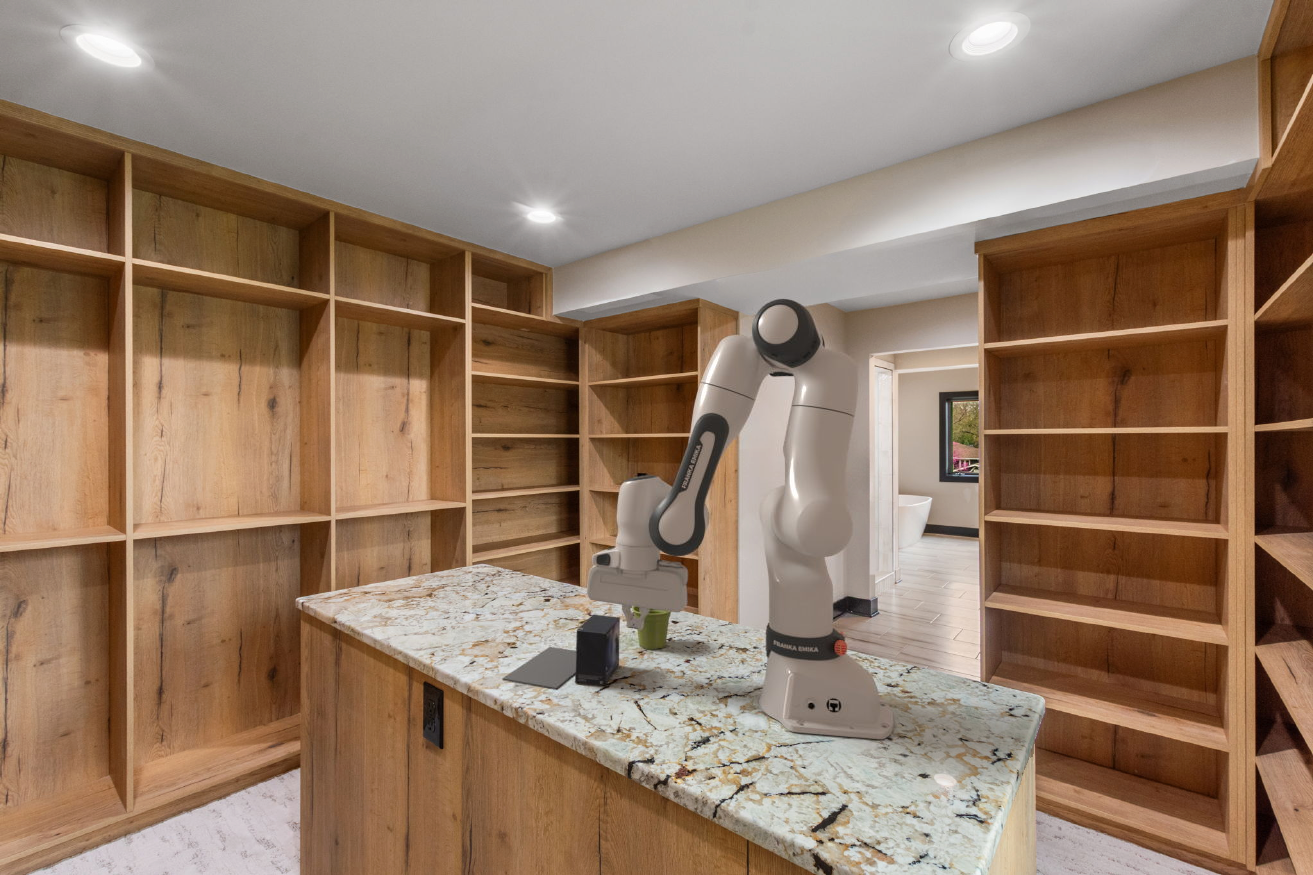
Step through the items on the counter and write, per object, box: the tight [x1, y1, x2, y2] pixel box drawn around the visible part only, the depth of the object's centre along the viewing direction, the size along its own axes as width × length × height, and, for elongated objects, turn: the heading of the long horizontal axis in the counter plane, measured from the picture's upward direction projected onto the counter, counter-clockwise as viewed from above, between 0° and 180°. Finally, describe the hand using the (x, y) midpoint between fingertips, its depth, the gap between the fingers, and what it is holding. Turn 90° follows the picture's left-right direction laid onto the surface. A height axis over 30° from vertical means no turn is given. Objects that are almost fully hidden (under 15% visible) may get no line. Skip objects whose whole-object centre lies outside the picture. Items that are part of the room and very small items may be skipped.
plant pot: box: [631, 606, 672, 651], centre depth 131 cm, size 9×9×9 cm
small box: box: [574, 614, 621, 687], centre depth 114 cm, size 11×6×10 cm, turn 168°
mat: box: [501, 646, 576, 690], centre depth 118 cm, size 12×18×1 cm, turn 160°
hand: (635, 627), depth 112 cm, fingers closed
